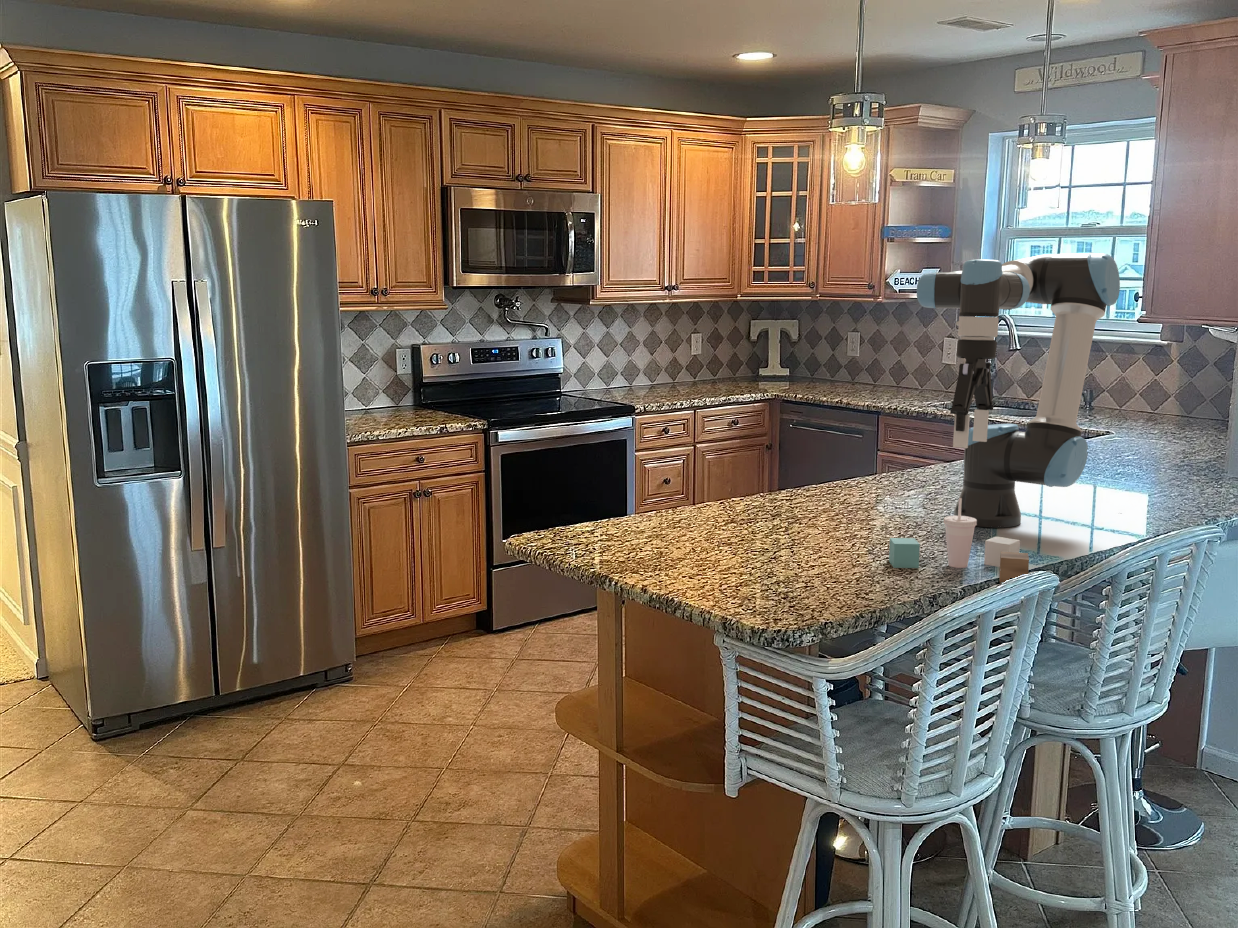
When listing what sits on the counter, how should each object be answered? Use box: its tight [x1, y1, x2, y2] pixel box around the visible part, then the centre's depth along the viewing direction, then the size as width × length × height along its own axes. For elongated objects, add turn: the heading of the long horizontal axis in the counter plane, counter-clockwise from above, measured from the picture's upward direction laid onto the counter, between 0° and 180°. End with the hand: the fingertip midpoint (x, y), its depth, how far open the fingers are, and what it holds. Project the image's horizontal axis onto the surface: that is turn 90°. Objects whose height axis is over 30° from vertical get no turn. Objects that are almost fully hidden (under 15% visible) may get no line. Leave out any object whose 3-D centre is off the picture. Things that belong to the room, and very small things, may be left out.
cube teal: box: [888, 537, 921, 569], centre depth 217 cm, size 5×5×5 cm
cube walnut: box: [998, 551, 1030, 584], centre depth 205 cm, size 5×5×5 cm
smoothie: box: [943, 498, 977, 569], centre depth 215 cm, size 6×6×14 cm
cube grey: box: [983, 536, 1021, 568], centre depth 217 cm, size 5×5×5 cm
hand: (970, 444), depth 217 cm, fingers open, 13 cm apart
